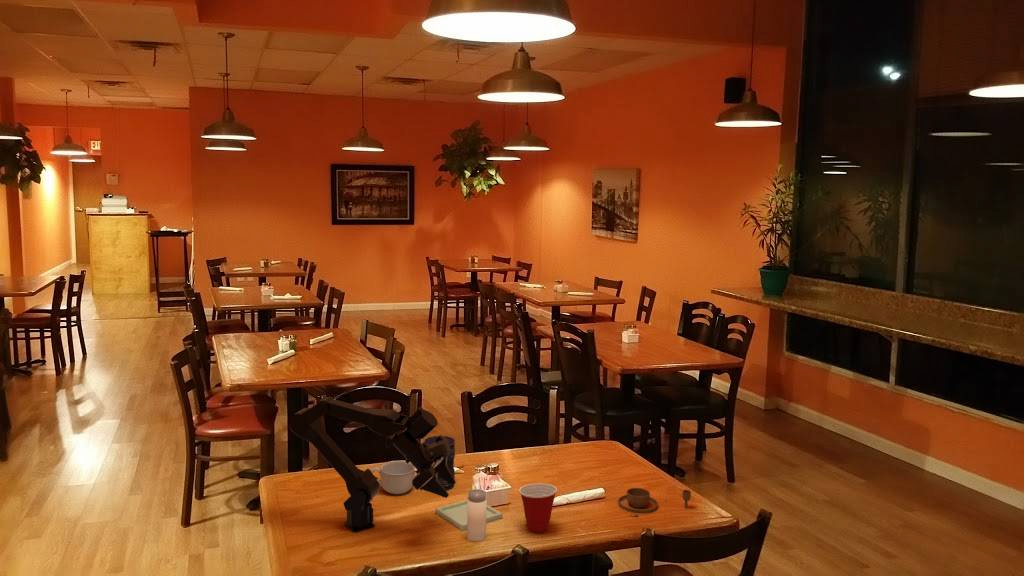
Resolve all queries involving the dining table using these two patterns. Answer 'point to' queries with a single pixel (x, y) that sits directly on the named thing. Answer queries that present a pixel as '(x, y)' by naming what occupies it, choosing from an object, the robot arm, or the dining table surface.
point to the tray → (464, 514)
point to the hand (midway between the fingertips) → (451, 490)
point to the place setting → (645, 500)
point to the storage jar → (449, 460)
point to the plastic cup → (538, 505)
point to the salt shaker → (476, 515)
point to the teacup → (396, 476)
